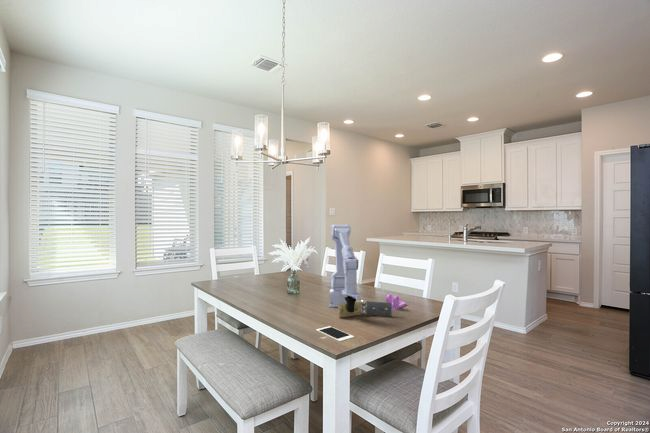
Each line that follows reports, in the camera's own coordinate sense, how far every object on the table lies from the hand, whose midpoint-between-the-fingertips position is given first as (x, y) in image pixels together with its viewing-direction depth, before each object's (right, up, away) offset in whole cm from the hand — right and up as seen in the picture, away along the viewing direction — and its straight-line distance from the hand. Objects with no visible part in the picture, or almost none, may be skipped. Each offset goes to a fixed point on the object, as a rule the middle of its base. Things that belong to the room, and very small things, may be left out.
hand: (350, 311), depth 154 cm
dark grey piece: (+13, -3, +3) cm, 13 cm away
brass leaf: (+1, -2, +2) cm, 3 cm away
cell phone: (-9, -3, -22) cm, 23 cm away
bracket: (+26, -3, +19) cm, 33 cm away
